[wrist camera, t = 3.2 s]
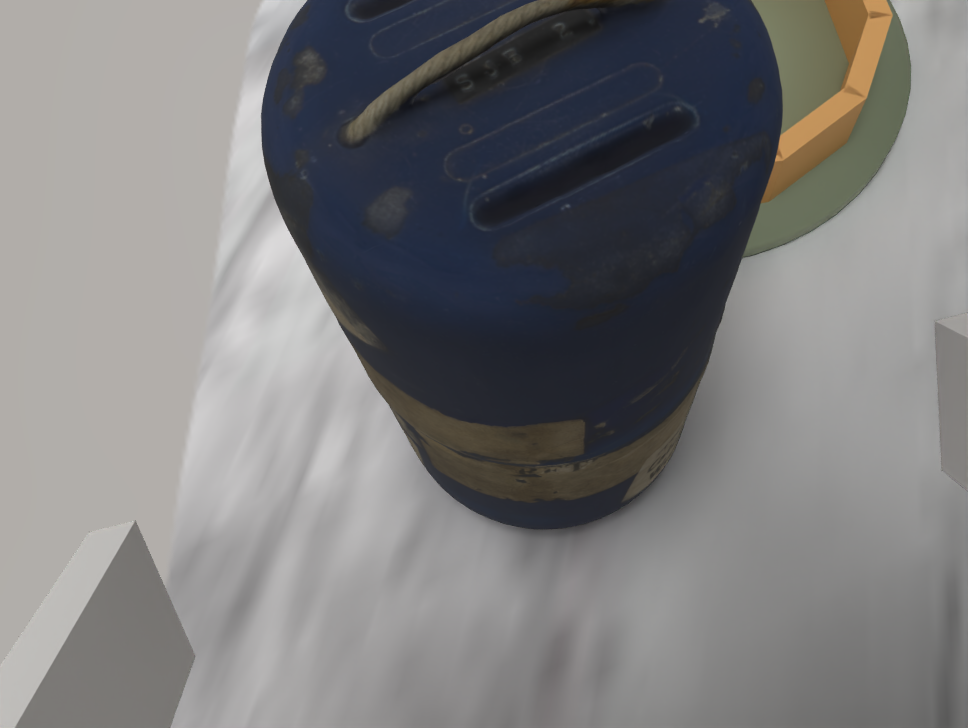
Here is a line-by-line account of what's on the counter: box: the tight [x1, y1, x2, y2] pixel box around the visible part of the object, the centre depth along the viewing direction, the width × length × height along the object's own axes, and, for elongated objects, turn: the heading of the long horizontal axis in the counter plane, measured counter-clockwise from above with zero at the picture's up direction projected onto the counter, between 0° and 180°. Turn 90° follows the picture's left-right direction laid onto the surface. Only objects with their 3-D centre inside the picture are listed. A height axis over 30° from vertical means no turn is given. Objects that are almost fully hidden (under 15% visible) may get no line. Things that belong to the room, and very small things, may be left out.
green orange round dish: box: [743, 0, 911, 257], centre depth 34 cm, size 18×18×3 cm
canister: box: [261, 0, 783, 529], centre depth 22 cm, size 10×10×18 cm
